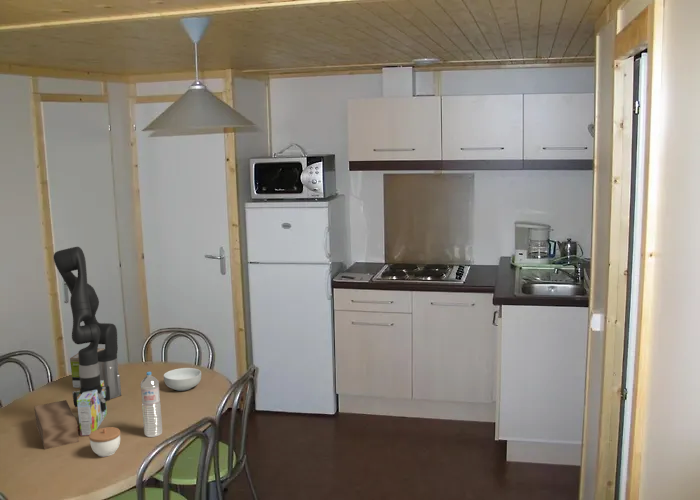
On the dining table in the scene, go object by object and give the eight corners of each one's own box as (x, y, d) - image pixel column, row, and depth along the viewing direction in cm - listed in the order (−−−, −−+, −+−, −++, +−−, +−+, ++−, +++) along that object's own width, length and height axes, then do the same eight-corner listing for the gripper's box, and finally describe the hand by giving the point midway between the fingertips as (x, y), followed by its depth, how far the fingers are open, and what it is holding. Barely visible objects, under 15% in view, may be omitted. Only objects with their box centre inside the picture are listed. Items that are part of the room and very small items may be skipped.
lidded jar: (91, 462, 247) (89, 437, 245) (89, 450, 256) (87, 426, 255) (123, 456, 251) (121, 431, 249) (120, 444, 260) (118, 420, 259)
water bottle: (166, 431, 271) (161, 370, 267) (155, 438, 265) (151, 376, 261) (151, 429, 273) (146, 368, 269) (140, 436, 267) (135, 374, 263)
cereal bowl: (209, 385, 320) (208, 370, 319) (183, 397, 307) (182, 381, 305) (183, 379, 329) (182, 365, 328) (156, 390, 316) (155, 375, 314)
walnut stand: (67, 418, 286) (66, 400, 285) (78, 441, 264) (76, 421, 262) (36, 425, 280) (34, 406, 279) (44, 449, 258) (42, 428, 256)
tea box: (88, 376, 336) (86, 347, 334) (108, 377, 335) (105, 347, 332) (72, 388, 321) (69, 357, 319) (92, 388, 320) (89, 357, 317)
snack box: (93, 414, 289) (91, 380, 286) (107, 414, 289) (105, 379, 287) (79, 436, 268) (76, 399, 266) (94, 435, 269) (91, 398, 266)
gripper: (106, 368, 282) (109, 406, 285) (68, 374, 275) (72, 414, 278) (110, 373, 276) (113, 412, 278) (72, 380, 268) (75, 420, 271)
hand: (93, 413), depth 278 cm, fingers closed on snack box, 7 cm apart
